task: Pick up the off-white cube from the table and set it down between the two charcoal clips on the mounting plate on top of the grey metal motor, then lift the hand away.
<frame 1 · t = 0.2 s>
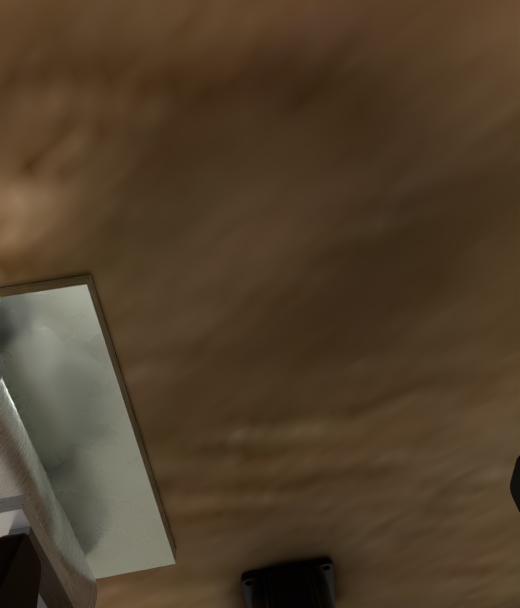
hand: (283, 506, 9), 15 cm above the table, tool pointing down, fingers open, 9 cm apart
motor: (11, 459, 26), on the table
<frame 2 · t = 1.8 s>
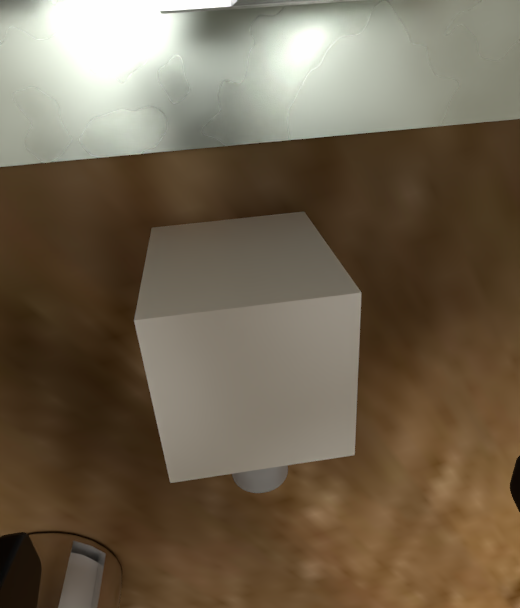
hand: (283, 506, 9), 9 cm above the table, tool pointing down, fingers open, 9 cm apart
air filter: (53, 572, 23), on the table
off-white cube: (235, 287, 17), on the table
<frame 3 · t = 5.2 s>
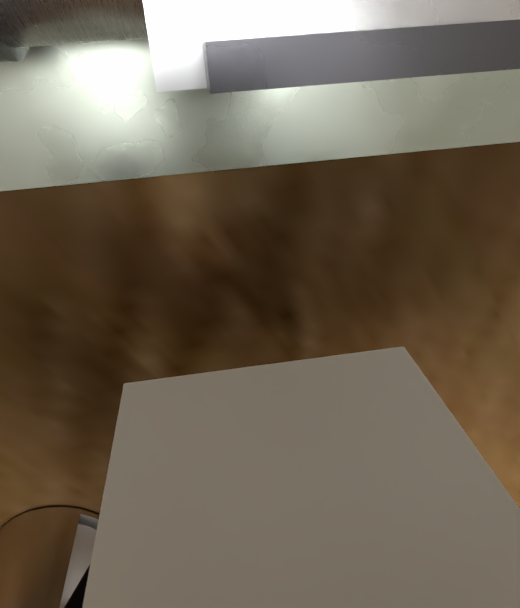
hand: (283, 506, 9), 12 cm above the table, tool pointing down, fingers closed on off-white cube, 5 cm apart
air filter: (61, 544, 26), on the table
off-white cube: (274, 464, 10), point 11 cm above the table, touching gripper
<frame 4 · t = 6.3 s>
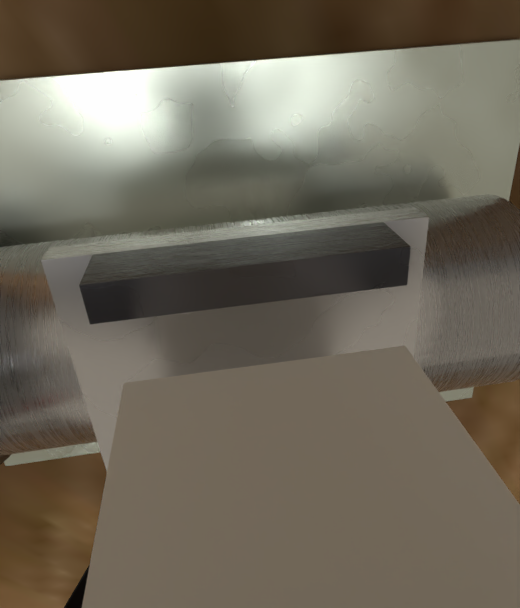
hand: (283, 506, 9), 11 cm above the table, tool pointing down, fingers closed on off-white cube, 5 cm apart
motor: (231, 271, 18), on the table
off-white cube: (274, 464, 10), point 10 cm above the table, touching gripper
when the fingers open (10 cm above the table, at t = 7.2 s): off-white cube drops 1 cm, resting on motor.
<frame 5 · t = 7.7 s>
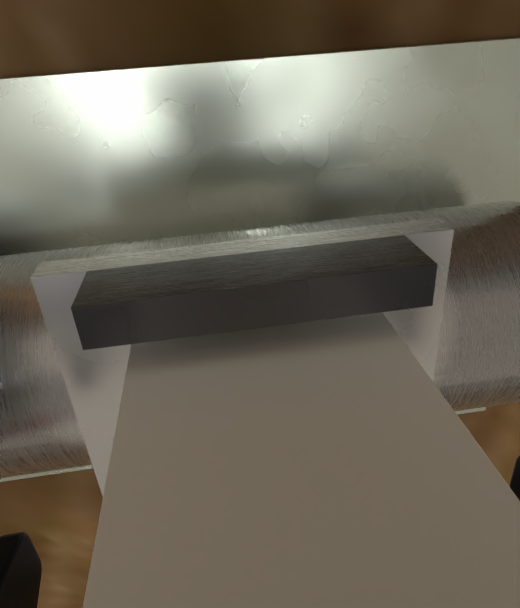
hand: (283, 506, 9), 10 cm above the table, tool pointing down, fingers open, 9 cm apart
motor: (235, 280, 17), on the table
off-white cube: (265, 414, 11), point 7 cm above the table, touching motor
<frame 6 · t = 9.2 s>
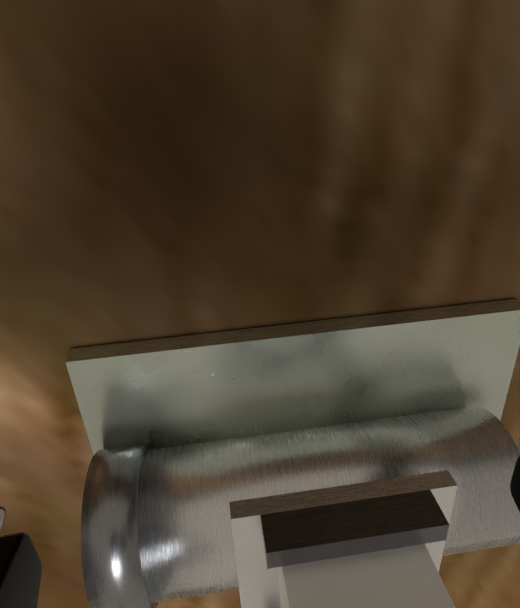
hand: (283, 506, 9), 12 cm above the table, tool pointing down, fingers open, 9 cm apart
motor: (303, 439, 25), on the table
off-white cube: (343, 571, 18), point 7 cm above the table, touching motor
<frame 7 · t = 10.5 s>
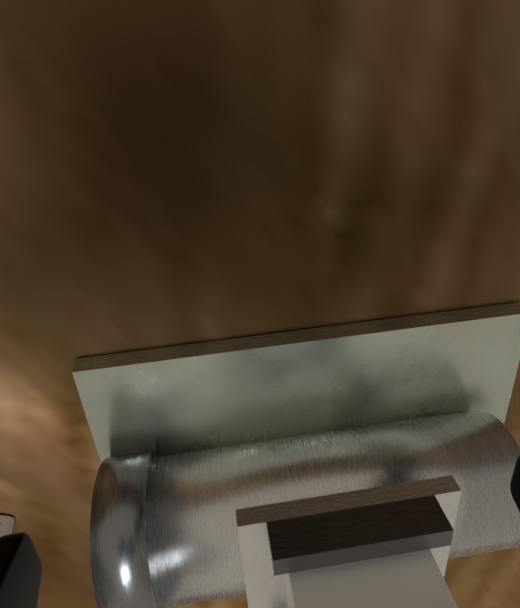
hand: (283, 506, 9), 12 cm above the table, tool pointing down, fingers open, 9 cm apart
motor: (308, 443, 25), on the table
off-white cube: (349, 576, 19), point 7 cm above the table, touching motor
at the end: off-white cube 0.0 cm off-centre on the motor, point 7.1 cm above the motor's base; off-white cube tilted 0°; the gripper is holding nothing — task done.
